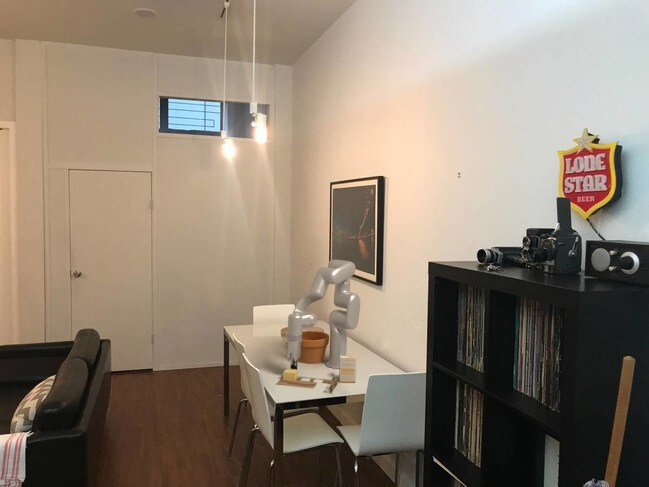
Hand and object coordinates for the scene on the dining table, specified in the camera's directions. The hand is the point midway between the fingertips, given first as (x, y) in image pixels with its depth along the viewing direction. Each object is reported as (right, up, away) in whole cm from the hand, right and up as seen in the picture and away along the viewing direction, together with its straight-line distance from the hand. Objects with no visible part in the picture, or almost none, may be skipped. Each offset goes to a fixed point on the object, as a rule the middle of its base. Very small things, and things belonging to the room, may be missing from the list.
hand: (293, 372), depth 264 cm
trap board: (+7, -4, -11) cm, 13 cm away
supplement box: (+28, -4, -2) cm, 28 cm away
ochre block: (-1, -2, -6) cm, 6 cm away
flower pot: (+8, -1, +33) cm, 34 cm away
